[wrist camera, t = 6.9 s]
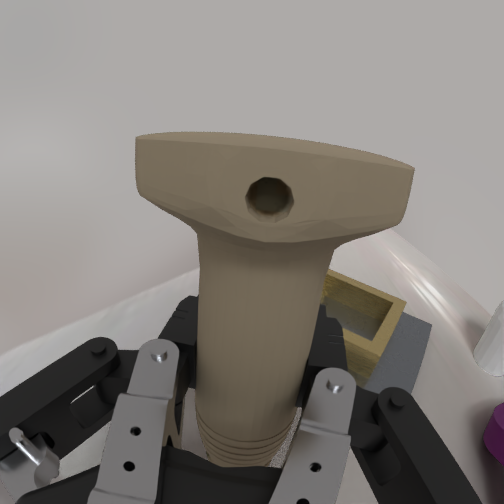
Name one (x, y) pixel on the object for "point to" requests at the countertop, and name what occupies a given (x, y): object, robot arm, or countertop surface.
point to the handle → (262, 263)
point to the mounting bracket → (496, 434)
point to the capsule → (492, 345)
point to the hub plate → (376, 333)
